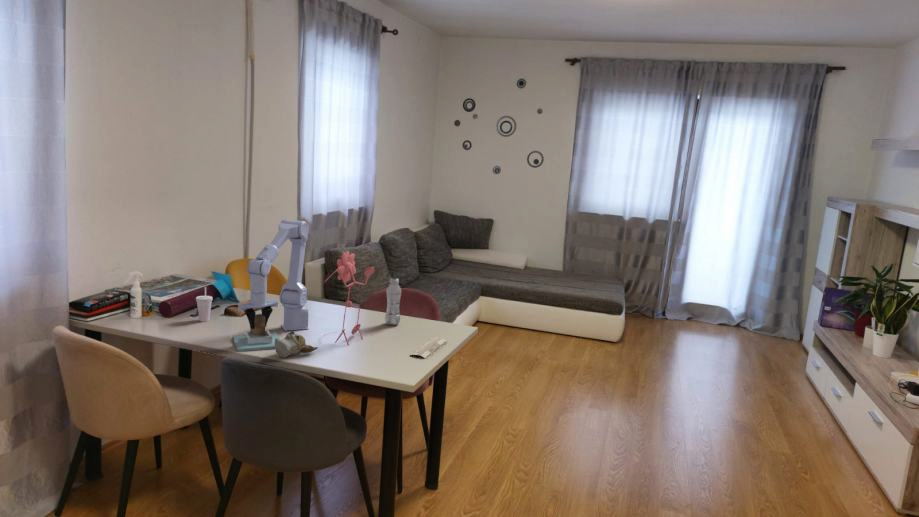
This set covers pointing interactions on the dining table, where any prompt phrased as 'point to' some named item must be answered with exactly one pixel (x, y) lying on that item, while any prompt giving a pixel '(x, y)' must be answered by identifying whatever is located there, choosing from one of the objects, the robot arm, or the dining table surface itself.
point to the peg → (258, 325)
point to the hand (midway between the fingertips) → (258, 327)
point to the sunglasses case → (236, 310)
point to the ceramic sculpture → (292, 345)
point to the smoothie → (204, 307)
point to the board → (243, 346)
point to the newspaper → (429, 347)
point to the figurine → (345, 272)
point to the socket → (257, 338)
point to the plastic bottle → (393, 302)
